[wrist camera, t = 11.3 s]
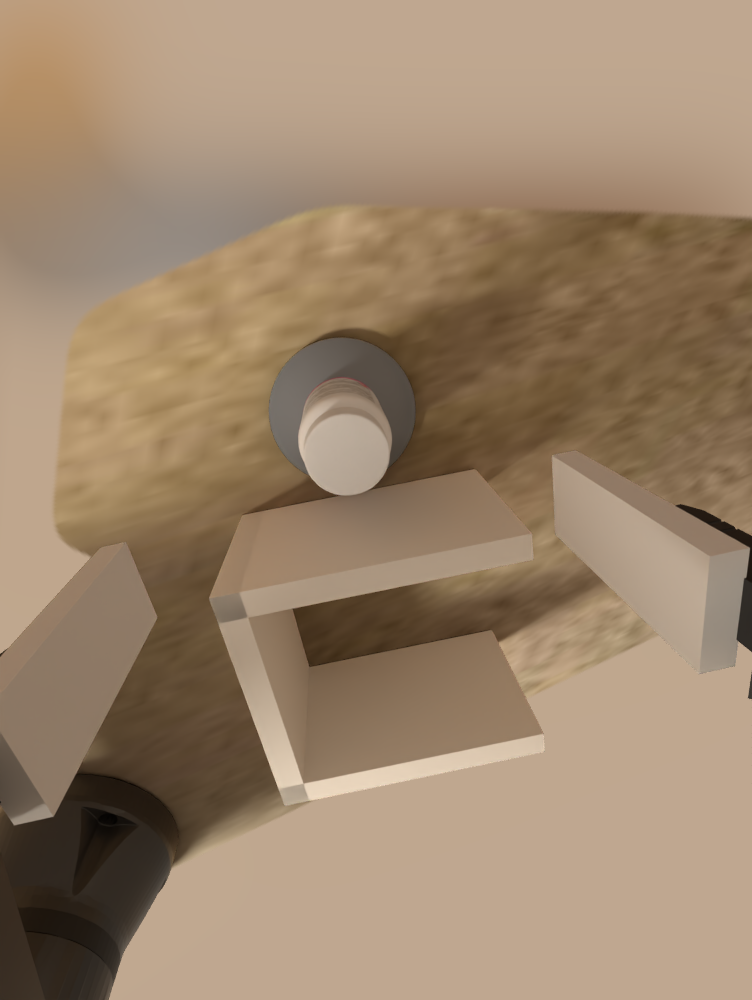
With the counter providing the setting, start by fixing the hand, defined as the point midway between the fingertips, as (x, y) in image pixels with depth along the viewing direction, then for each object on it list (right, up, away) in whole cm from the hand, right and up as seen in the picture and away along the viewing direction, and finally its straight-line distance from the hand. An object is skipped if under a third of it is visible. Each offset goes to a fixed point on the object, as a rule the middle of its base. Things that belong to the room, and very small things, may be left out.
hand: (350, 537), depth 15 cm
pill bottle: (-1, +6, +15) cm, 17 cm away
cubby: (+1, -5, +21) cm, 22 cm away
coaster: (-1, +7, +16) cm, 17 cm away
